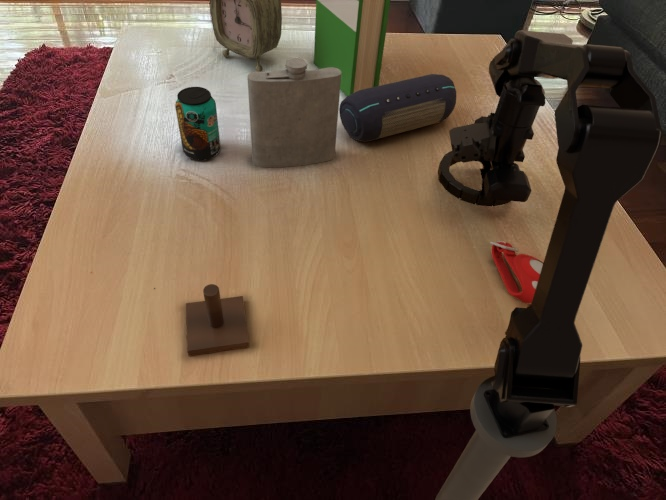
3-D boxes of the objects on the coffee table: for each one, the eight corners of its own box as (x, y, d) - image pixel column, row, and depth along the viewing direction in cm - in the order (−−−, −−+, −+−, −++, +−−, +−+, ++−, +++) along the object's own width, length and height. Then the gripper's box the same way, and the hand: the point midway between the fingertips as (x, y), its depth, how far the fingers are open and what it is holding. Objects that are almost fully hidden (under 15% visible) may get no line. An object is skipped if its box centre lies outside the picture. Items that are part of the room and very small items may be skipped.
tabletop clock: (215, 57, 126) (203, -59, 108) (241, 44, 131) (234, -68, 113) (259, 78, 121) (255, -41, 103) (285, 64, 126) (285, -51, 108)
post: (249, 347, 71) (245, 310, 65) (188, 356, 70) (179, 319, 64) (243, 300, 76) (239, 263, 70) (186, 308, 75) (178, 270, 69)
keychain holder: (565, 266, 83) (565, 300, 75) (548, 285, 86) (546, 320, 78) (498, 228, 85) (491, 257, 76) (483, 248, 87) (475, 278, 79)
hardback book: (377, 92, 120) (393, -20, 102) (349, 98, 117) (360, -15, 100) (340, 57, 130) (348, -49, 113) (313, 62, 127) (318, -46, 110)
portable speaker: (357, 155, 102) (362, 110, 95) (332, 128, 108) (336, 84, 101) (458, 127, 112) (470, 84, 104) (431, 104, 118) (440, 61, 110)
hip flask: (332, 150, 103) (340, 52, 89) (337, 162, 101) (345, 64, 86) (251, 157, 100) (245, 57, 85) (254, 170, 97) (248, 69, 83)
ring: (535, 198, 92) (539, 189, 90) (462, 212, 88) (465, 203, 86) (492, 151, 101) (495, 142, 100) (424, 162, 97) (426, 153, 96)
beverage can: (175, 152, 100) (164, 95, 91) (202, 136, 104) (194, 80, 95) (202, 167, 97) (193, 110, 88) (228, 150, 101) (223, 94, 92)
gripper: (454, 80, 84) (434, 159, 95) (466, 149, 71) (442, 231, 83) (523, 87, 84) (495, 165, 95) (548, 156, 71) (512, 237, 83)
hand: (485, 197), depth 89 cm, fingers closed on ring, 2 cm apart
